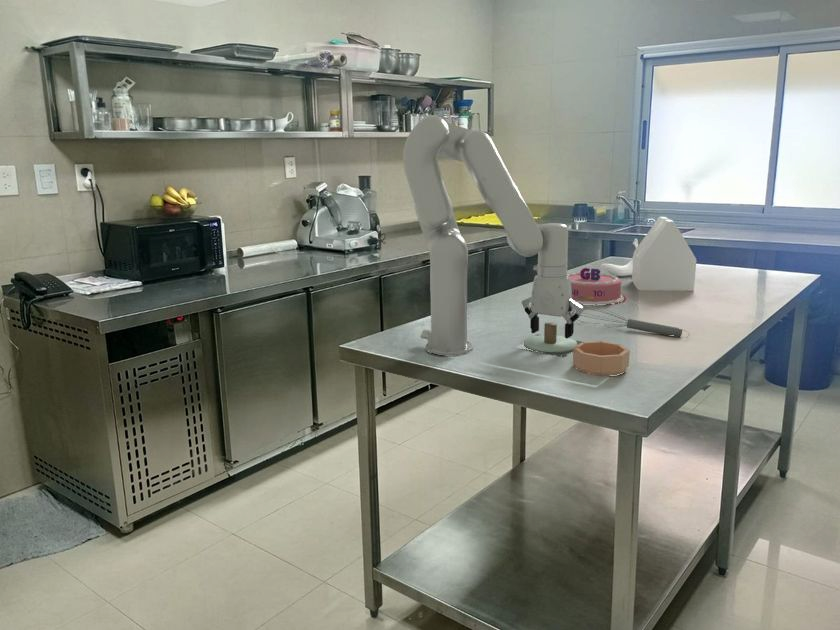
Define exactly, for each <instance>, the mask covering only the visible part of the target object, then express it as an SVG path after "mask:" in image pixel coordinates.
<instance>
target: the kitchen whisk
mask: <svg viewBox="0 0 840 630" xmlns="http://www.w3.org/2000/svg"><path fill="white" fill-rule="evenodd" d="M581 306H582V307H584V310H586V308H587V306H585V305H581ZM590 308H591V309H590ZM597 308H598V309H597ZM588 309H589V310H591V311H594V310H595V312H596V311H597V312H600V313H603V314H607V315H609V316H613V317H616V318H618V319H620V320H617V319H615V320H614V319H613V318H608V317H606V321H608V322H611V321H612V322H614V323H617V322H618V323H620V324H614V323H613V324H612V323H605V326H606V327H607V329H610V328H612V326H617V328H622V327H626V328H627V329H633V330H638V331H641V332H646V333H647V332H648V333H652V334H659V335H662V334H665V335H664V336H667V335H674V336H681V337H682V336H683V331H684V332H687V333H688V331H687V330H685V329H683V328H679V327H675V326H669V325H665V324H659V323H653V322H649V321H643V320H637V319H633V318H628V319H627V318H625V317H624V316H623V317H622V316H621V315H619V314H617V313H615V312H614V311H613V312H612V311H611V310H608V309H606V308H603V307H601V306H593V305H591V306H588ZM601 309H602V310H601ZM575 311H576V309H574V308H573V309H572V311H571V313H572V314H573V315H574V314H575ZM582 314H583V315H582ZM582 314H581V315H580V317H586V318H588V316H589V318H591V319H593V316H594V319H596V320H599V318H600V315H594V314H590V313H586V315H585V313H584V312H582ZM587 315H588V316H587ZM591 316H592V317H591ZM597 317H598V318H597ZM600 320H602V321H605V317H604V316H601V318H600ZM576 321H578V322H580V323H582V324H584V321H582V320H579V319H577V320H576ZM576 321H575V322H574V323H576V324H577V325H579V323H578V322H576ZM623 321H624V323H623ZM585 323H586V324H590V322H589V321H588V322H587V321H585ZM592 324H595V325H599V323H598V322H597V323H595V322H592ZM688 336H690V333H688Z"/></svg>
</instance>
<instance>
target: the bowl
mask: <svg viewBox="0 0 840 630" xmlns="http://www.w3.org/2000/svg"><path fill="white" fill-rule="evenodd" d="M630 351H631V350H630V349H629V348H628V347H626V346H625V345H622V344H621V343H617V342H610V341H609V342H608V341H603V340H597V341H582V342H581V343H580V344H578V345H576V346H575V347H573V352H572V364H573V365H574V368H575V367H576V368H577V369H578V370H577V369H576V368H575V369H576V370H577V371H579V370H580V371H579V372H581V371H582V373H583V372H585V373H584V374H587V373H590V374H589V375H592V374H595V375H594V376H600V375H617V374H620V373H623V372H625V371H626V372H627V368H628V367H630V366H629V365H630Z"/></svg>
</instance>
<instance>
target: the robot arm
mask: <svg viewBox="0 0 840 630" xmlns="http://www.w3.org/2000/svg"><path fill="white" fill-rule="evenodd" d="M498 151H499V150H497V148H496V146H495V144H494V142H493V140H492V138H491V137H490V135H489V134H488V133H486V132H485V131H484V130H483V131H482V130H478V129H477V130H474V129H473V130H472V129H469V128H466V127H462V126H459V125H457V124H453V123H451V122H448V121H445V119H443V118H442V117H440V116H439V115H436V114H431V115H430V114H429V115H426V116H424V117H422V118H421V119H420V120H419V121H418V122H417V123H416V124H415V125H414V127H413V128H412V130H411V131H410V132H409V134H408V136H407V138H406V140H405V144H404V147H403V152H402V163H403V168H404V169H403V170H404V174H405V176H406V180H407V184H408V186H409V189H410V192H411V196H412V198H413V201H414V202H413V203H414V210H415V214H416V217H417V220H418V224H419V225H420V229H421V232H422V235H423V237H424V241H425V242H426V243H425V244H426V246H427V248H428V253H429V262H430V263H429V266H430V267H429V273H430V274H429V285H430V286H429V290H430V291H429V292H430V330H428V329H423V330H422V331H421V334H420V338H421V339H422V340H427V343H426V344H425V351H426V350H427V351H429V352H431V353H434V354H438V355H437V356H439V355H456V356H460V355H459V354H463V355H465V354H464V353H467V354H469V353H471V352H472V351H474V344H473V343H472V342H470V341H468V264H469V263H468V262H469V248H468V244H467V242H466V240H465V238H464V237H463V235H462V234H461V232H460V229H459V226H458V223H457V220H456V216H455V213H454V209H453V208H454V206H453V202H452V200H451V197H449V194H448V191H447V188H446V185H445V182H444V180H443V176H442V172H441V169H440V168H441V167H440V166H439V160H438V159H439V156H442V157H445V158H448V159H452V160H455V161H458V162H461V163H464V164H465V167H466V168H467V170H468V172H469V174H470V176H471V178H472V181H474V183H475V184H474V185H476V187H477V189H478V191H479V193H480V195H481V196H482V198H483V200H484V202H485V203H486V204H487V206H488V207H489V208H490V209H491V210H492V211H493V213H495V216H496V217H497V219H498V220H499V221H500V223H501V225H502V226H503V229H504V230H505V232H506V241H507V244H508V246H509V247H510V248H511V249H512V250H513V251H515V252H516V253H517V254H519V255H520V256H522V257H527V258H528V257H529V258H531V257H534V256H536V255H537V264H536V265H533V271H536V273H537V275H535V276H534V277H533V278H534V279H533V283H532V289H531V296H530V297H528V298H526V299H523V300H522V301H521V304H522V307H523V309H524V311H525V313H526V314H527V315H528V319H530V325H529V326H530V330H531V334H536V333H537V332H539V331H540V317H539V316H538V315H544V316H552V317H562V318H564V320H565V324H564V337H565V338H567V339H568V338H571V337H572V336H573V335H574V328H575V327H574V326H575V325H574V324H575V323H576V322H575V321H578V320H579V318H580V317H581V315H582V313H584V310H585V309H584V308H585V307H582V306H583V305H579V304H578V303H576V302H575V301H573V300H572V289H571V283H570V278H569V277H568V276H567V274H568V261H569V259H568V258H569V257H568V255H569V254H568V253H569V228H568V226H567V225H566V224H564V223H560V222H548V223H543V224H541V223H540V224H539V223H537V222H536V220H535V218H534V215H533V213H532V212H531V210H530V208H529V206H528V205H527V203H526V202H525V200H524V199H523V196H522V195H521V193H520V191H519V189H518V186H517V185H516V184H515V181H514V180H513V179H512V177H511V174H510V173H509V171H508V169H507V166H506V165H505V163H504V161H503V158H502V157H501V155H500V154H499V152H498ZM574 309H575V311H574V313H575V314H574V315H573V314H572V312H573V310H574ZM427 351H426V352H427ZM470 351H471V352H470ZM468 352H469V353H468ZM431 353H430V354H431ZM434 354H433V355H434Z"/></svg>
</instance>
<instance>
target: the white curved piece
mask: <svg viewBox="0 0 840 630" xmlns="http://www.w3.org/2000/svg"><path fill="white" fill-rule="evenodd" d="M632 245H634V247H635V249H636V248H637V247H638V245H639V241H638V239H637V238H634V240H633V242H632ZM600 267H601V269H603V271H605V272H606V273H607V274H610V275H613V276H616V277H627V276H630V275H631V276H632V269H633V257H632V258H631V260H630V261H629V262H628V263H627V264H625V265H618V264H612V263H601V265H600Z"/></svg>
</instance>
